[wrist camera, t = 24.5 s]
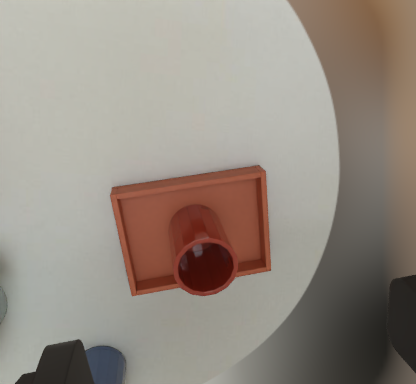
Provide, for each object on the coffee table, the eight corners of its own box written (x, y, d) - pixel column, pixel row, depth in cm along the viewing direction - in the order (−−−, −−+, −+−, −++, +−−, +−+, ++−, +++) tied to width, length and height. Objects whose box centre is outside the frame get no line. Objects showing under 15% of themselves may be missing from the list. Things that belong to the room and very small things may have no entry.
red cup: (218, 200, 40) (235, 233, 32) (223, 247, 42) (240, 289, 34) (164, 208, 39) (168, 244, 31) (172, 256, 41) (178, 301, 33)
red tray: (259, 165, 40) (265, 171, 38) (264, 260, 44) (271, 270, 42) (112, 187, 38) (109, 195, 36) (132, 283, 42) (131, 296, 40)
